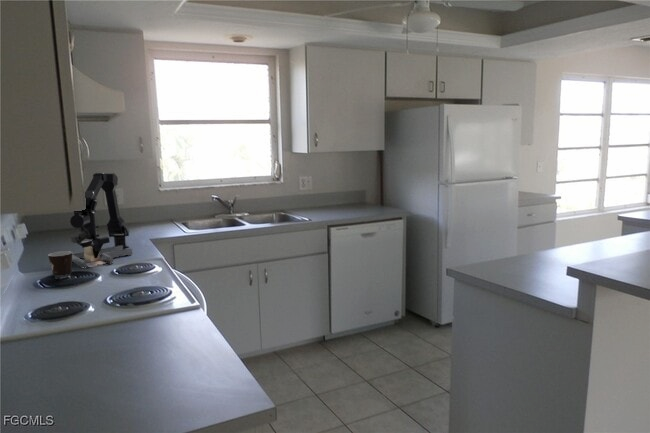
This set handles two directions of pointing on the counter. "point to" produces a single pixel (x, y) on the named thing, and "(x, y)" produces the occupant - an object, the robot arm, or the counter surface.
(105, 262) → the pad
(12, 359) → the counter surface
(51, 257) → the coffee mug
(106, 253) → the channel
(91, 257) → the maple block
